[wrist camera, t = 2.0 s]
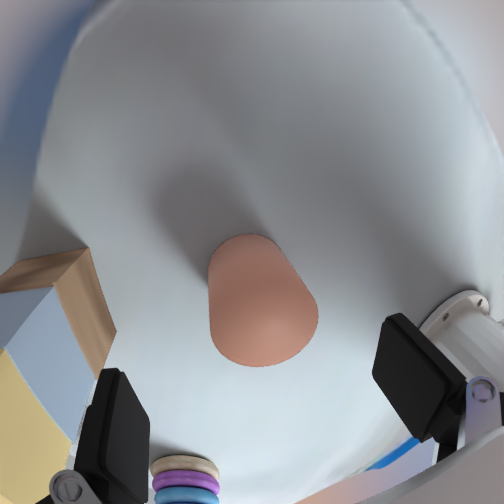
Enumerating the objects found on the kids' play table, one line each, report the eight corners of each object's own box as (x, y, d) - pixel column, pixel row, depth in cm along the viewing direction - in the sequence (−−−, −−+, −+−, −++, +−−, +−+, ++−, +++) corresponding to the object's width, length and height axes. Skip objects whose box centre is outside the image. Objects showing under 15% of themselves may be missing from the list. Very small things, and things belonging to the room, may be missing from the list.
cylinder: (284, 228, 18) (318, 267, 12) (287, 299, 20) (316, 355, 14) (201, 240, 17) (200, 286, 12) (214, 311, 19) (219, 373, 14)
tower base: (89, 247, 16) (55, 282, 12) (116, 331, 19) (99, 379, 14) (18, 260, 16) (-20, 292, 11) (49, 335, 18) (24, 376, 13)
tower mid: (54, 286, 12) (5, 346, 7) (95, 376, 14) (74, 443, 9) (-16, 295, 11) (-62, 342, 7) (24, 374, 13) (-3, 428, 9)
